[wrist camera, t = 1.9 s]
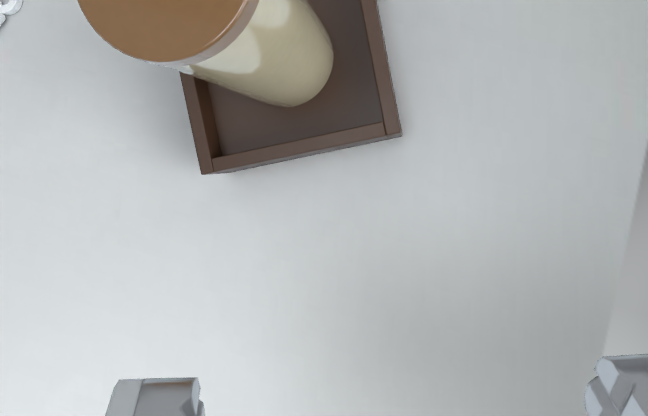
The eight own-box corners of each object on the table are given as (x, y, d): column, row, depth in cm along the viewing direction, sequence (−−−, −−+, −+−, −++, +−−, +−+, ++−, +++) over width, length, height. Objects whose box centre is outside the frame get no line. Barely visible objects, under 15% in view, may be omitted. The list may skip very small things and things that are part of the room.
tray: (366, -53, 33) (358, -85, 29) (402, 136, 34) (400, 132, 29) (190, -4, 35) (157, -28, 31) (227, 173, 36) (200, 174, 32)
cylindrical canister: (324, -7, 31) (233, -173, 16) (344, 96, 32) (275, 35, 16) (226, 19, 32) (49, -113, 17) (247, 118, 33) (92, 81, 17)
